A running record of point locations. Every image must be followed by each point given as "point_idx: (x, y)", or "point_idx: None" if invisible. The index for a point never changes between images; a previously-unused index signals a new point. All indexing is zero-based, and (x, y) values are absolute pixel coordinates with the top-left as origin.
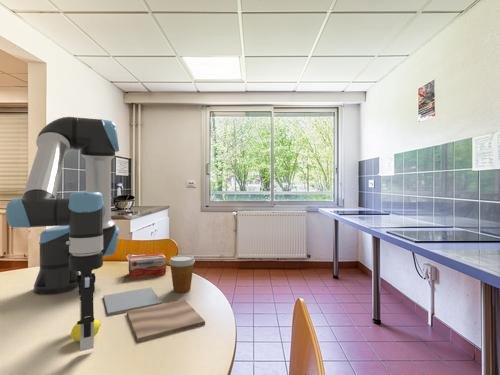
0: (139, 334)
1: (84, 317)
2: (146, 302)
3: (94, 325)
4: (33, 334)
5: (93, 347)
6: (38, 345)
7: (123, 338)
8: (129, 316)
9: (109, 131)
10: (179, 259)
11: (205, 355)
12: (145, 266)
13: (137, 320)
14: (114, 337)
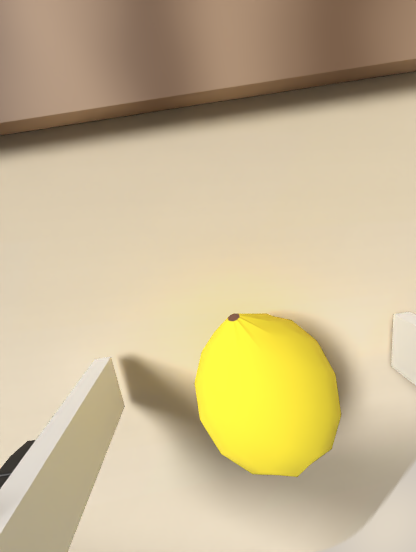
0: (405, 35)
1: (100, 427)
2: None
3: (315, 358)
4: (111, 541)
5: (412, 313)
6: (220, 505)
7: (328, 161)
8: (57, 109)
9: None
10: None
11: None
12: None
13: (154, 40)
14: (291, 215)
